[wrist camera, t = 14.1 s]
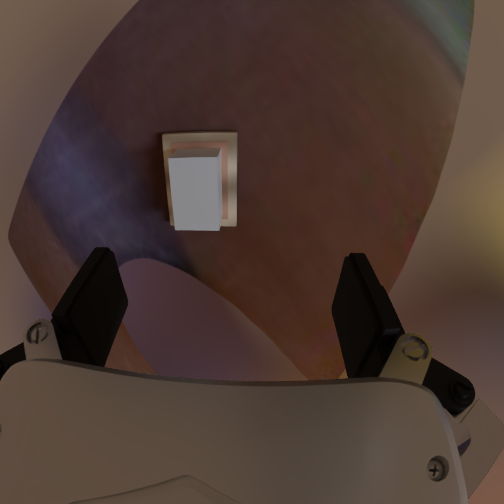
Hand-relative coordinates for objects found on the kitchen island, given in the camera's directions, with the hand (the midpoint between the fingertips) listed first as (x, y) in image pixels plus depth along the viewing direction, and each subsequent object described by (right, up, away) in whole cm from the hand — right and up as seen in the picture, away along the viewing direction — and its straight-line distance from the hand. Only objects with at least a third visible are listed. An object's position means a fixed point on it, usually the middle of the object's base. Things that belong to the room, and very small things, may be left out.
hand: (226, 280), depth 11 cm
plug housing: (-6, +11, +28) cm, 30 cm away
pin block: (-6, +11, +29) cm, 32 cm away
